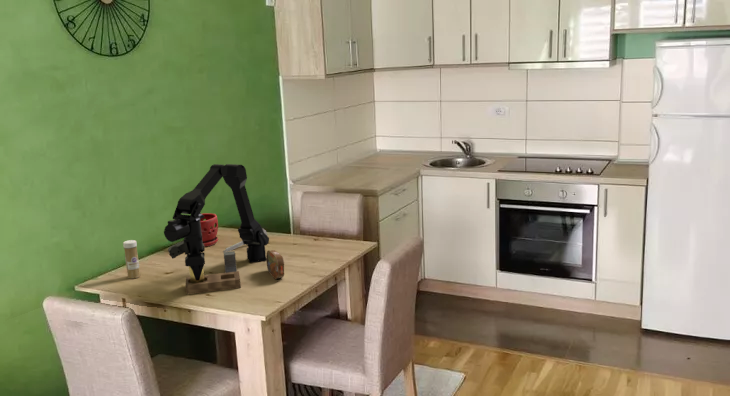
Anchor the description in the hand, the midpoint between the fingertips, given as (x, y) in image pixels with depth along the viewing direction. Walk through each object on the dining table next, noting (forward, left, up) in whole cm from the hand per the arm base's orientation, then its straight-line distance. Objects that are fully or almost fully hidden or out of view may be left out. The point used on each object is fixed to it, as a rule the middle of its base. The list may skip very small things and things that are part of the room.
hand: (197, 277), depth 232 cm
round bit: (0, 0, -3) cm, 3 cm away
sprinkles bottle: (+23, -21, -4) cm, 32 cm away
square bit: (-11, -14, -4) cm, 19 cm away
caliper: (-19, -45, -4) cm, 49 cm away
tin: (-27, -4, -4) cm, 28 cm away
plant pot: (-2, -55, -4) cm, 56 cm away
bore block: (-5, 0, -4) cm, 6 cm away
